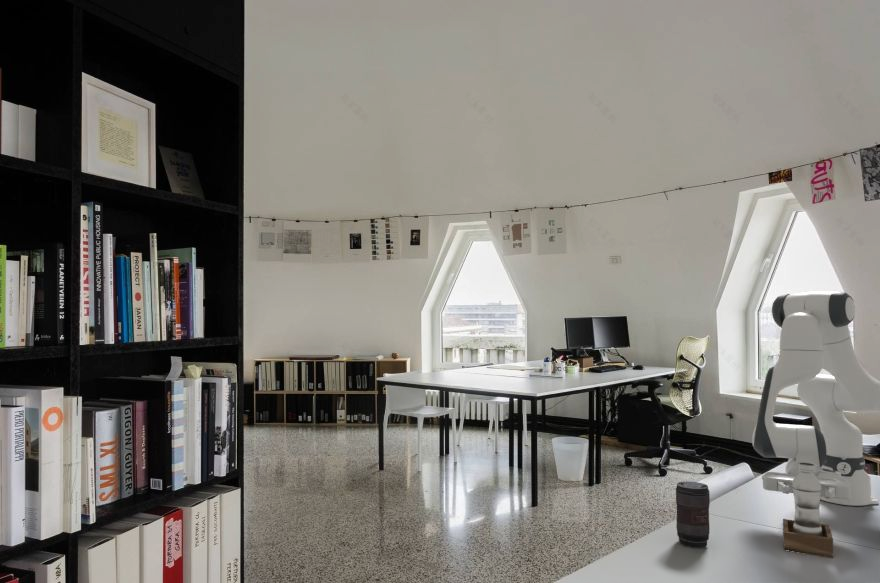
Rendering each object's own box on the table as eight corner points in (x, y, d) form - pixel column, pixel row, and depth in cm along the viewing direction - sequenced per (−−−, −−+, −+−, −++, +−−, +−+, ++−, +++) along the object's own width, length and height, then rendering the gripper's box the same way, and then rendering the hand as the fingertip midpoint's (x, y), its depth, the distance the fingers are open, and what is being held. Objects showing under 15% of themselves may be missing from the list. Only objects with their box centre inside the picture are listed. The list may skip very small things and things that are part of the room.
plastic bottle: (827, 549, 160) (826, 467, 160) (797, 547, 161) (797, 466, 161) (816, 539, 166) (816, 461, 166) (788, 538, 167) (787, 460, 168)
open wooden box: (783, 535, 171) (783, 518, 171) (829, 542, 166) (829, 525, 166) (784, 550, 161) (783, 532, 161) (833, 558, 156) (832, 539, 156)
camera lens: (710, 540, 168) (709, 482, 168) (709, 551, 160) (709, 490, 160) (677, 535, 171) (676, 479, 171) (675, 546, 163) (674, 486, 164)
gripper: (761, 464, 181) (761, 475, 169) (847, 472, 172) (853, 485, 160) (762, 486, 181) (761, 499, 169) (847, 496, 172) (853, 511, 160)
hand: (806, 492), depth 164 cm, fingers open, 8 cm apart
